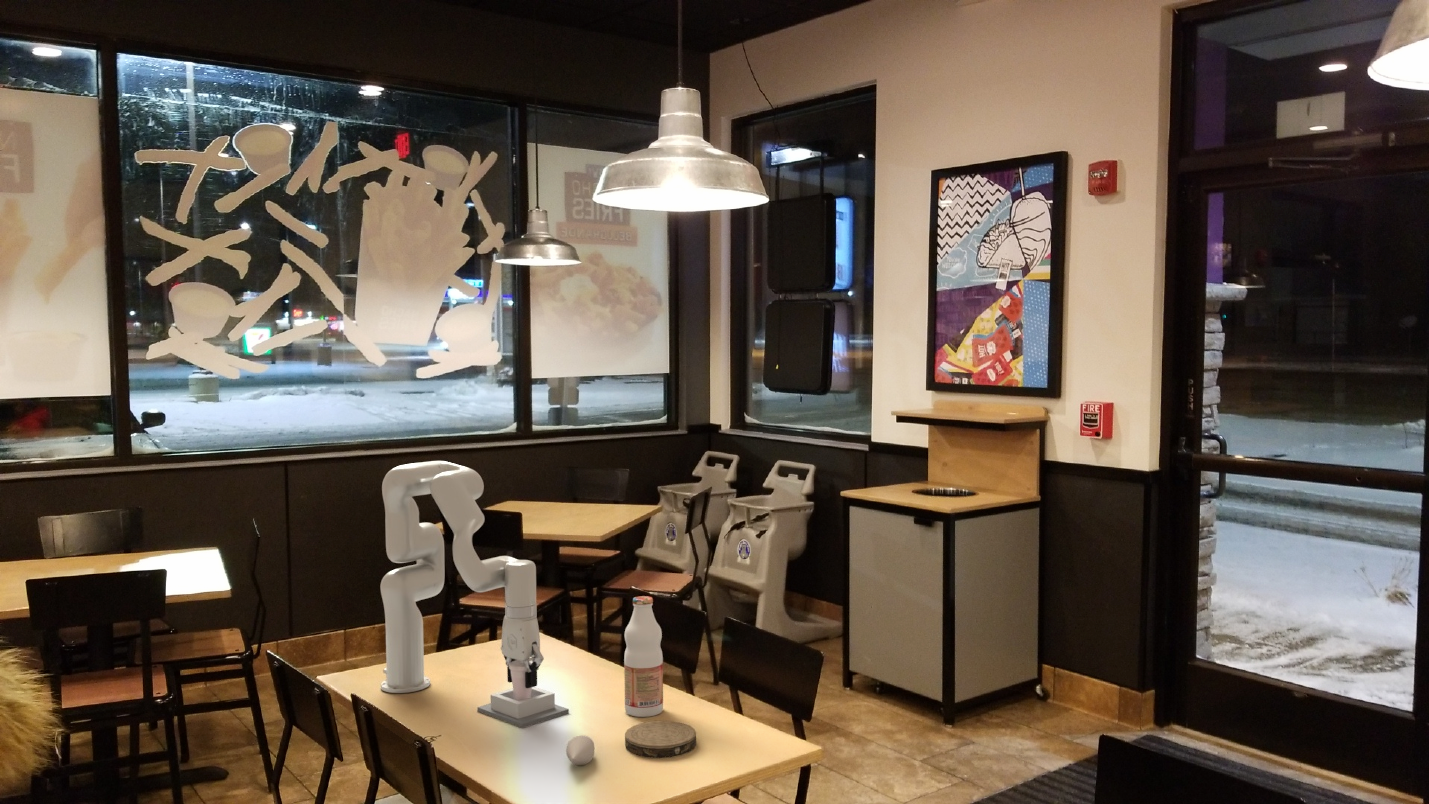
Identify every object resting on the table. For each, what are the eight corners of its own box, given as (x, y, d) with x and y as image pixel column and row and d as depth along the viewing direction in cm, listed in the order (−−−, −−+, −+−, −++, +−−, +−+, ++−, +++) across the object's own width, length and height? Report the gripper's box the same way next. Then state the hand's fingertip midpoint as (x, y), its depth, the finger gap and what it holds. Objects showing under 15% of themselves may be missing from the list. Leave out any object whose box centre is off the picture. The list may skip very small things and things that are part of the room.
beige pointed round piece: (570, 780, 220) (583, 764, 235) (593, 761, 220) (604, 746, 235) (552, 756, 221) (566, 742, 235) (575, 737, 221) (587, 724, 236)
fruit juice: (616, 713, 261) (615, 599, 260) (641, 702, 269) (640, 592, 268) (646, 720, 256) (645, 604, 254) (671, 709, 263) (669, 596, 262)
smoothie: (530, 707, 259) (529, 649, 258) (505, 705, 260) (504, 648, 259) (539, 698, 265) (538, 642, 264) (515, 697, 266) (514, 641, 266)
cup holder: (477, 711, 263) (477, 693, 263) (523, 697, 274) (523, 680, 274) (522, 728, 251) (522, 709, 251) (568, 713, 262) (568, 694, 261)
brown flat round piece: (611, 743, 242) (611, 730, 241) (670, 728, 251) (670, 716, 251) (650, 765, 229) (649, 751, 229) (710, 748, 238) (710, 735, 238)
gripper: (487, 608, 264) (488, 680, 265) (530, 620, 253) (531, 695, 254) (512, 603, 270) (513, 673, 271) (555, 614, 258) (556, 687, 259)
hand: (522, 683), depth 262 cm, fingers closed on smoothie, 6 cm apart
